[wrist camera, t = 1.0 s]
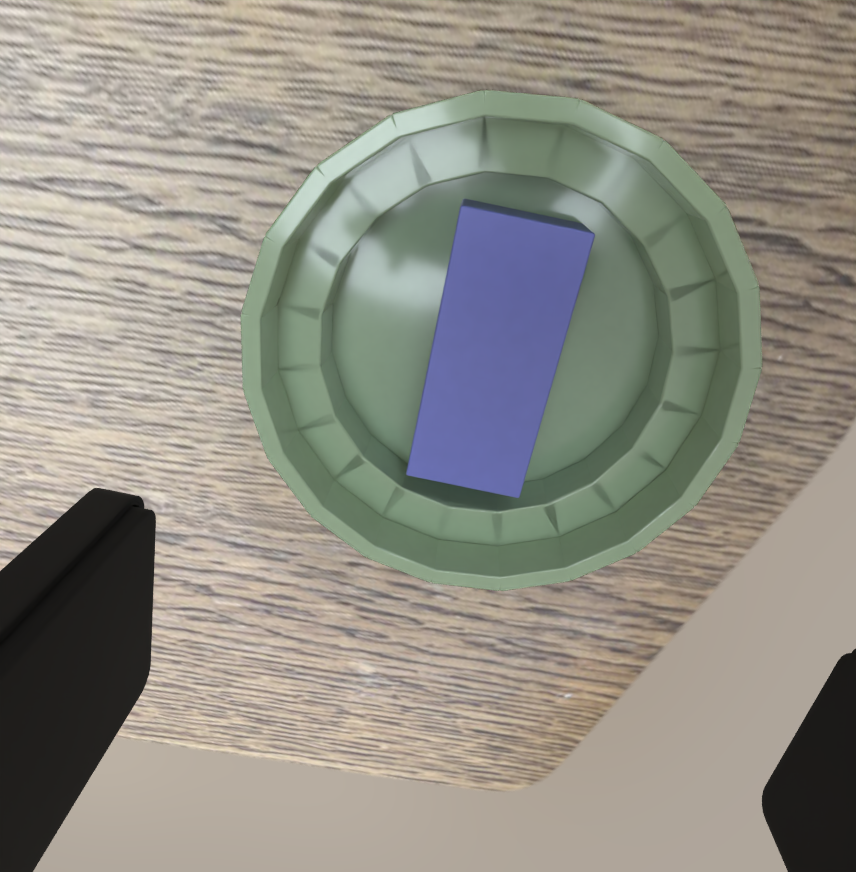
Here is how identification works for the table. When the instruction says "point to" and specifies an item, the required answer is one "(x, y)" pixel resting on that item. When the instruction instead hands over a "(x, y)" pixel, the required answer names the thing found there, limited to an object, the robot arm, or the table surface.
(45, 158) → the table surface
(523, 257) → the rectangular block
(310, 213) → the bowl
